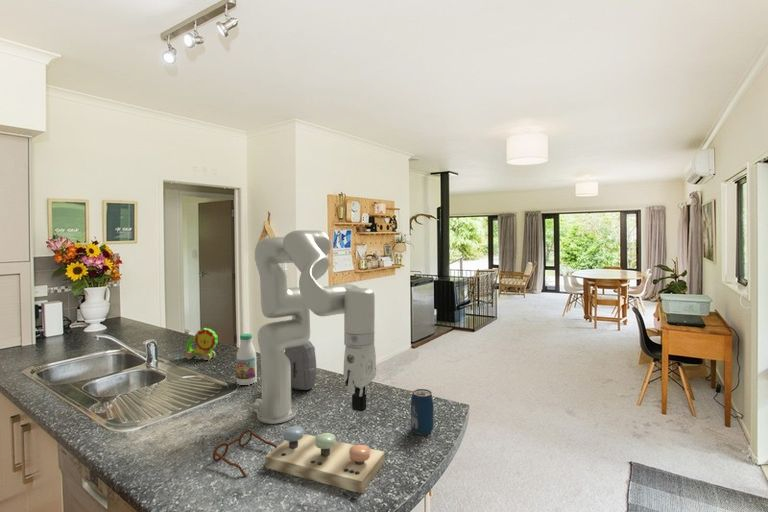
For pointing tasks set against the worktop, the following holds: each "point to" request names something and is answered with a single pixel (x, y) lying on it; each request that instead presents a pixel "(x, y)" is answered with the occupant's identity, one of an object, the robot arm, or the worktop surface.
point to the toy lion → (202, 344)
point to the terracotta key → (359, 453)
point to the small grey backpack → (302, 366)
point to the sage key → (325, 440)
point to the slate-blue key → (293, 433)
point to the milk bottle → (246, 361)
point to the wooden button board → (325, 463)
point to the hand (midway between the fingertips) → (359, 409)
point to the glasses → (240, 446)
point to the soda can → (422, 411)
